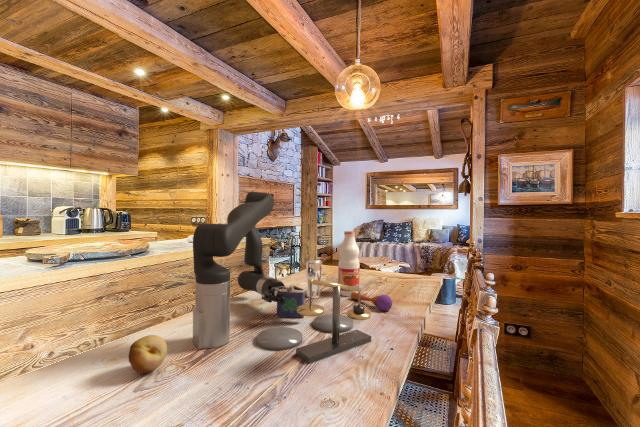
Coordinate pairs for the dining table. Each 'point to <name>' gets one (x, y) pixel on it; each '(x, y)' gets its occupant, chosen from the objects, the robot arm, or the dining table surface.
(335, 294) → the balance
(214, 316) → the robot arm
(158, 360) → the fruit
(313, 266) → the beer glass
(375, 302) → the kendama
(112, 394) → the dining table surface
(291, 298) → the flask
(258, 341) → the gray domed disc
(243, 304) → the dining table surface
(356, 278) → the fruit juice
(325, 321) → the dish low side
